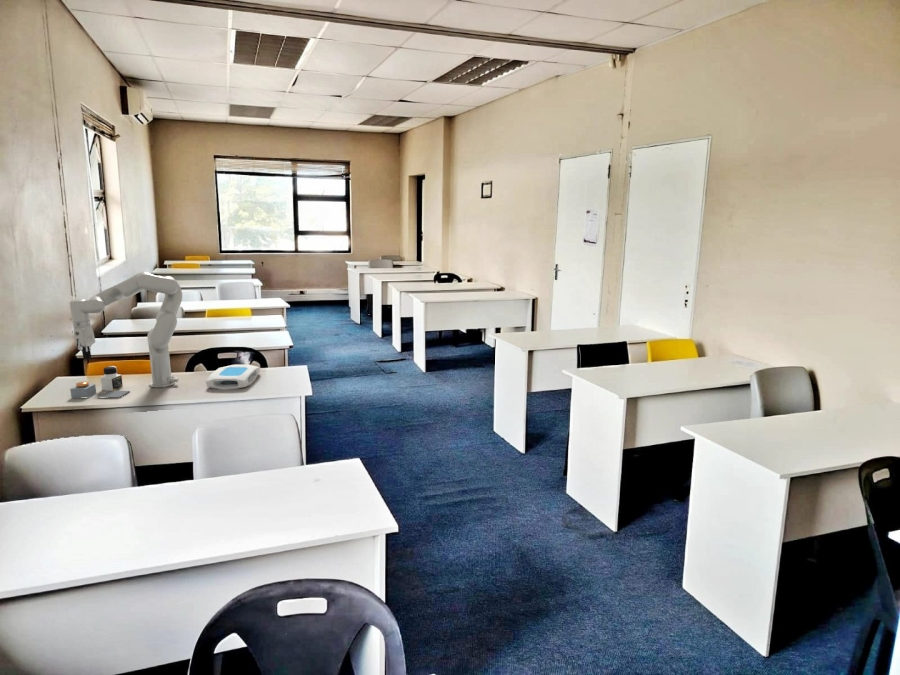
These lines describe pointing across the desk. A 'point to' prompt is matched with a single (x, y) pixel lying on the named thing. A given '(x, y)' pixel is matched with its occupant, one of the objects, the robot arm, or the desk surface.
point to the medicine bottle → (111, 379)
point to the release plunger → (82, 384)
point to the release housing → (83, 391)
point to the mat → (114, 394)
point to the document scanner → (233, 376)
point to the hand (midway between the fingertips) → (87, 358)
